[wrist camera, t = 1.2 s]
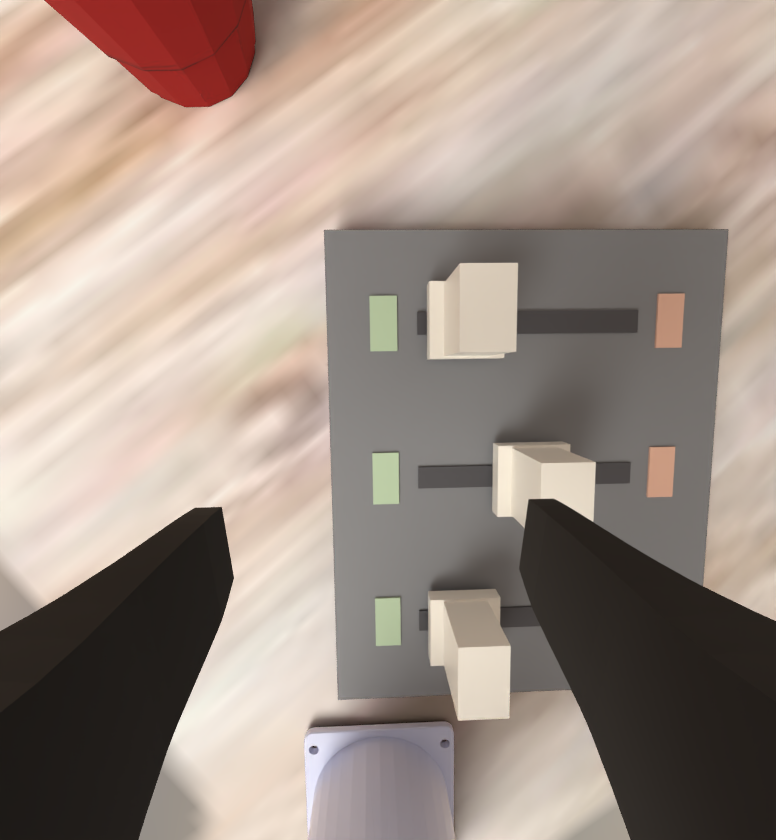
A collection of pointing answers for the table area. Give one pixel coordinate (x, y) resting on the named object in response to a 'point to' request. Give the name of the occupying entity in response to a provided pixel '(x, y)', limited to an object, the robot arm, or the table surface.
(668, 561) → the switch panel
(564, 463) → the switch
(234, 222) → the table surface
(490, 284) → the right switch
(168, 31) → the plastic cup
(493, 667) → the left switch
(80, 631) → the robot arm
